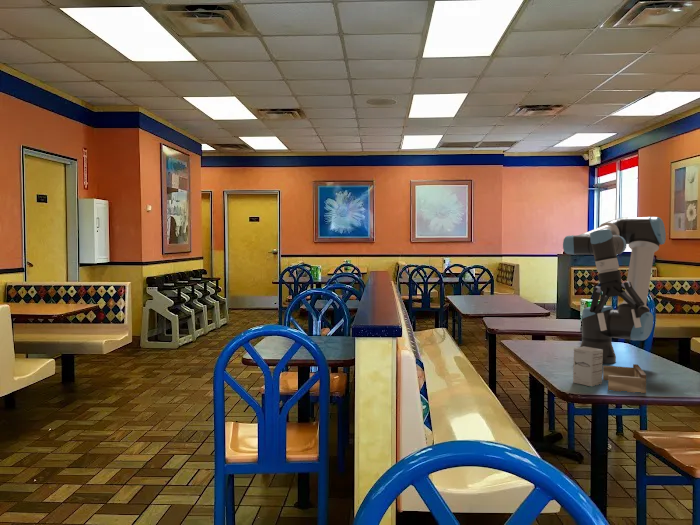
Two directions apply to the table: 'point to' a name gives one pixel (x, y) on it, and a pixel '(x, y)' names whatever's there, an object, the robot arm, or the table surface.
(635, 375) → the brown wooden frame
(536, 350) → the table surface
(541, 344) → the table surface
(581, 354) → the supplement box
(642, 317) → the robot arm
